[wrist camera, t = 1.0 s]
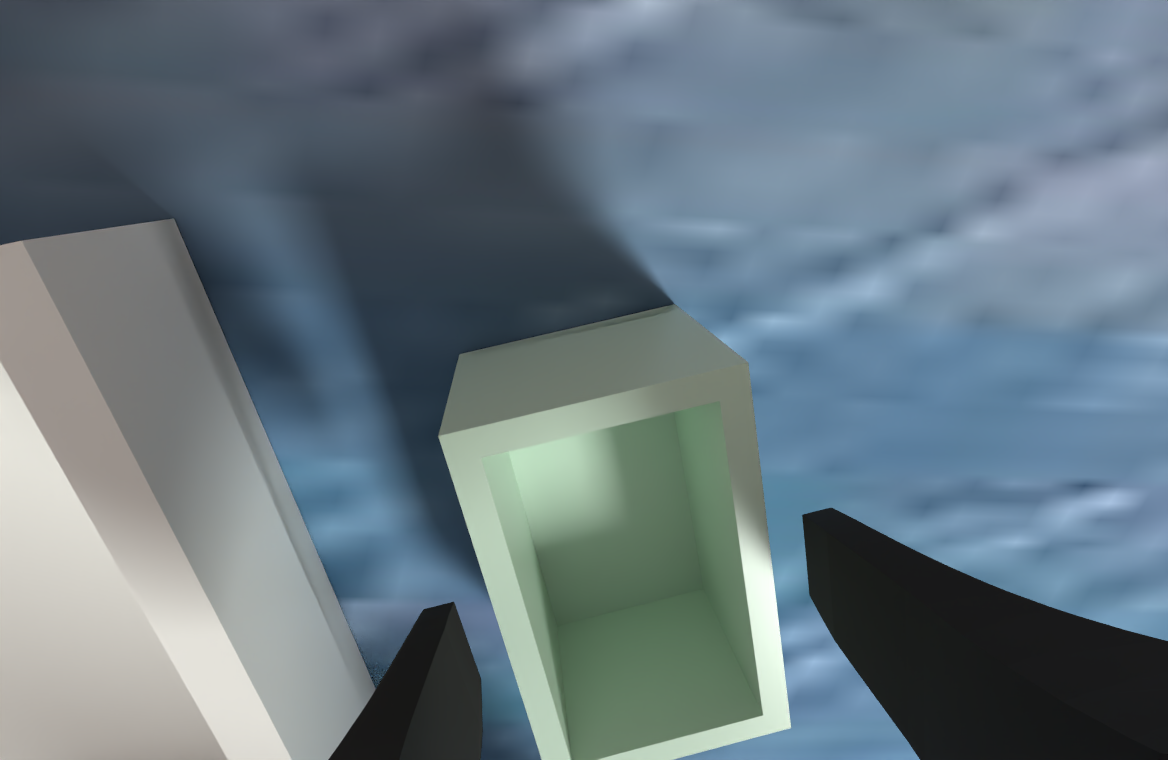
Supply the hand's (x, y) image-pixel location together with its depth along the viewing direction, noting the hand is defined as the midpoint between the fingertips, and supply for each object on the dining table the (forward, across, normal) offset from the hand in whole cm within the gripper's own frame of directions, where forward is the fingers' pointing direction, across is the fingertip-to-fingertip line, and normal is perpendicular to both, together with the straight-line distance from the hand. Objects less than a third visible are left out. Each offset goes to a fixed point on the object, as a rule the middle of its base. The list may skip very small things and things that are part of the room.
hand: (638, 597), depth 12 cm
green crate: (+5, 0, 0) cm, 5 cm away
